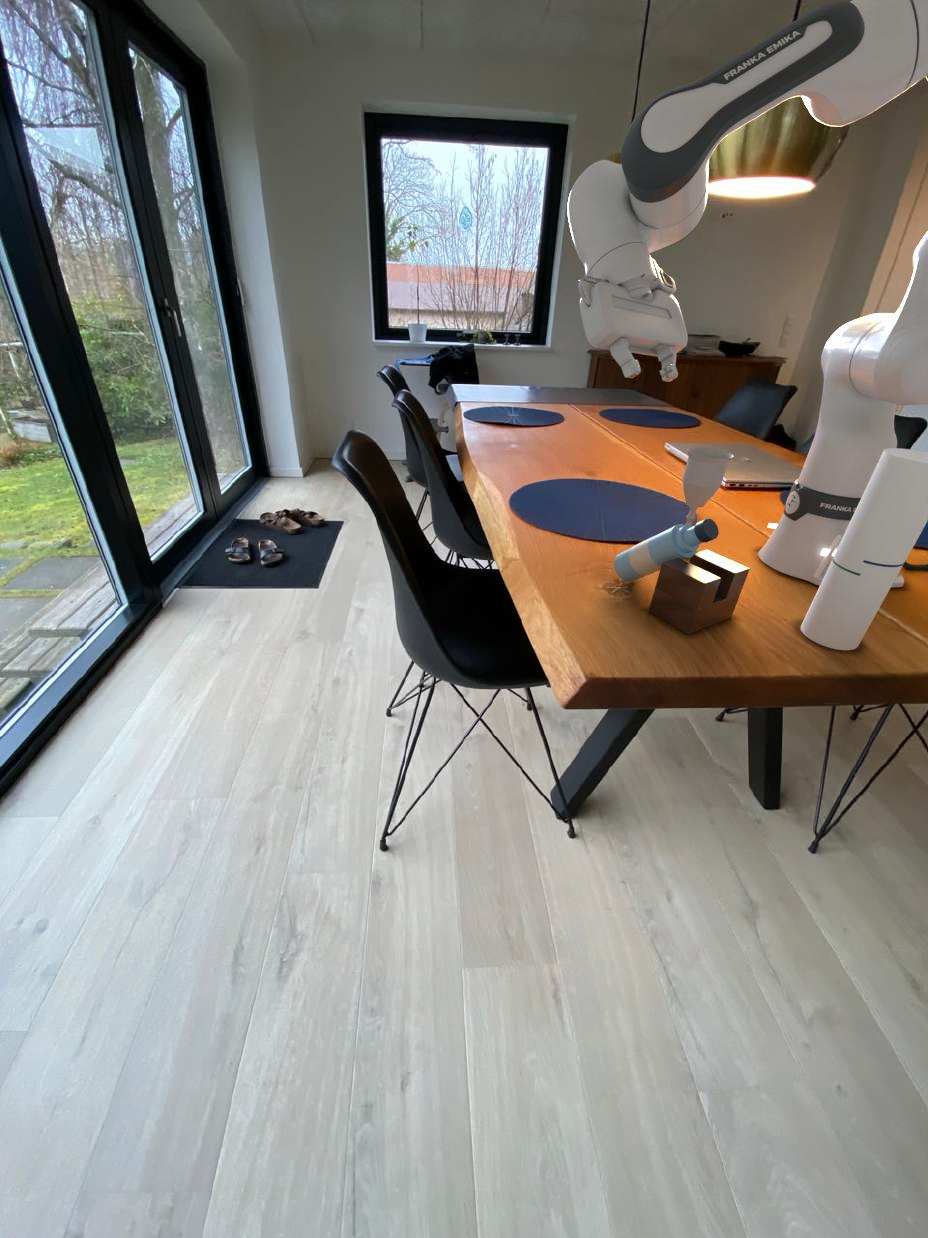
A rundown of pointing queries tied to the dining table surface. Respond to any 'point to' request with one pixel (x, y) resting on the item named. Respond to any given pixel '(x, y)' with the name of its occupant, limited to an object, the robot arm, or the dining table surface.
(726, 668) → the dining table surface
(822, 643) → the cylindrical container
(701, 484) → the chalice
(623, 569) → the bottle
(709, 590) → the block
